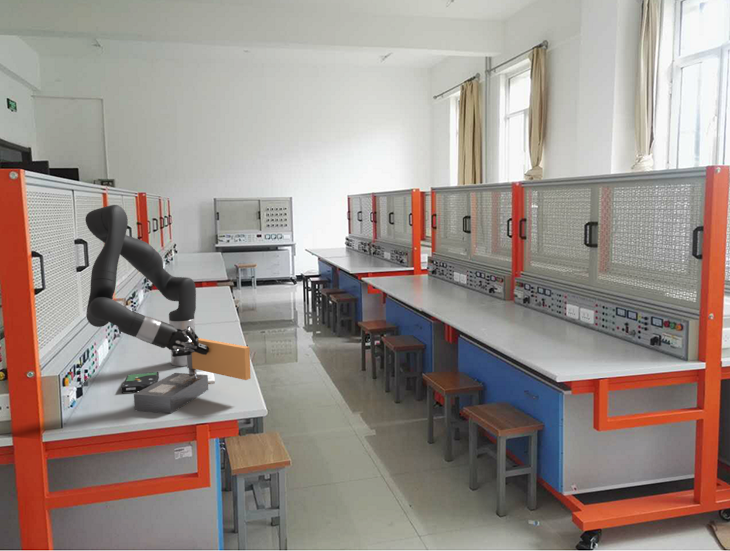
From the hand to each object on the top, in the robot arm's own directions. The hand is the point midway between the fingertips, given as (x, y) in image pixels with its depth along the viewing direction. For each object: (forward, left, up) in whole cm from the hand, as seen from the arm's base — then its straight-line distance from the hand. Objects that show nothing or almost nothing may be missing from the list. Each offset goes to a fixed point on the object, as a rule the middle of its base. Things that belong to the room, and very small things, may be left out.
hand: (207, 351), depth 184 cm
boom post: (-5, -9, -14) cm, 17 cm away
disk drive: (-3, -27, -15) cm, 31 cm away
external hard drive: (-14, -10, -15) cm, 23 cm away
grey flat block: (+7, -9, -14) cm, 18 cm away
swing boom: (-1, +3, -7) cm, 8 cm away
